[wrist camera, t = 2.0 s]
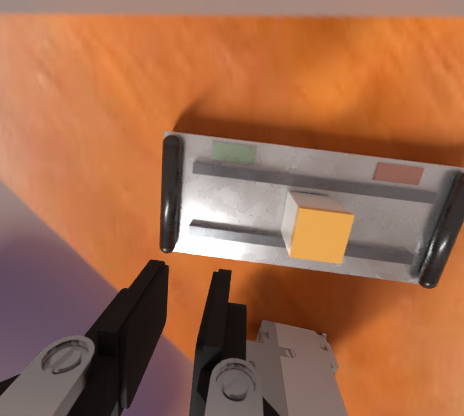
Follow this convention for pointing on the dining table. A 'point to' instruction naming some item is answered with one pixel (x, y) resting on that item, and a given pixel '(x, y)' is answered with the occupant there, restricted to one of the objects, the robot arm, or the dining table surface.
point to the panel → (312, 182)
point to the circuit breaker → (296, 370)
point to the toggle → (315, 227)
